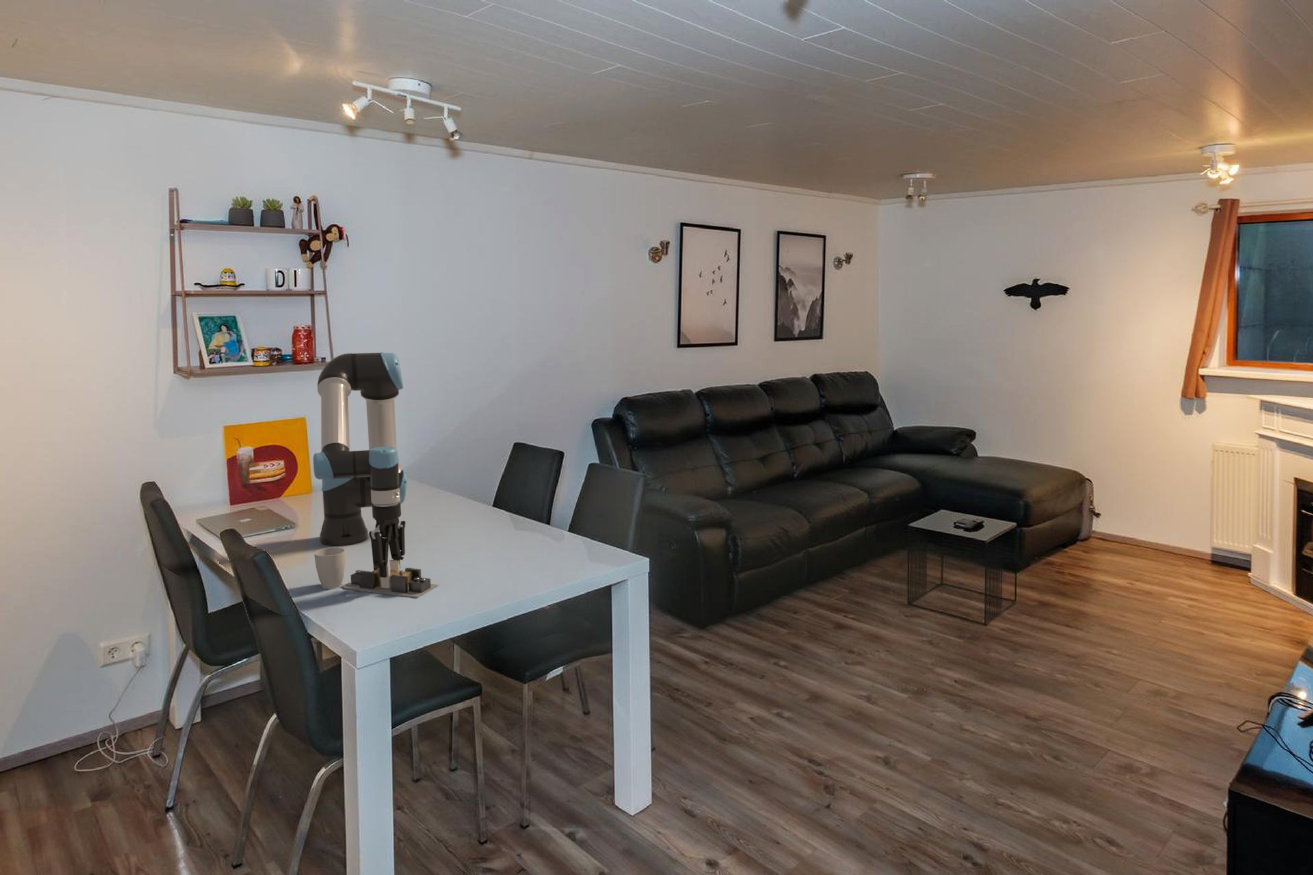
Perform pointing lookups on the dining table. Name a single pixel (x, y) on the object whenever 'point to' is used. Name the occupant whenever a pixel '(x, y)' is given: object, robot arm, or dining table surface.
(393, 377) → the robot arm
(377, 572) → the gold rectangular block
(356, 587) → the mat
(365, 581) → the grey assembly fixture
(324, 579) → the cup
